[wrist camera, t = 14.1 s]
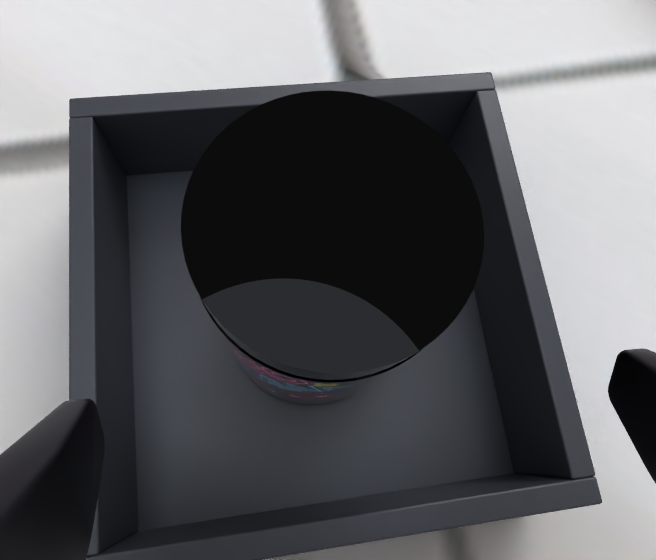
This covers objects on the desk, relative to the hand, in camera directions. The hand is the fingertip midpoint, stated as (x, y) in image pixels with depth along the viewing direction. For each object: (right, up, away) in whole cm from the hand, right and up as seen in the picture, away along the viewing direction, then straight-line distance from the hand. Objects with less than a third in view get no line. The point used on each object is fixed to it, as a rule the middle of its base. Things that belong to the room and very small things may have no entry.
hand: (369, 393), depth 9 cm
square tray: (-1, 0, +13) cm, 13 cm away
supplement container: (-1, 0, +13) cm, 13 cm away
